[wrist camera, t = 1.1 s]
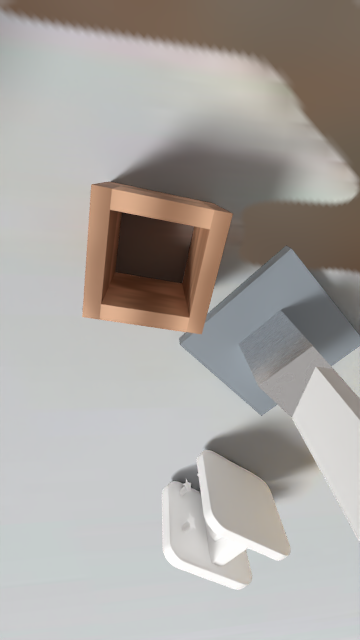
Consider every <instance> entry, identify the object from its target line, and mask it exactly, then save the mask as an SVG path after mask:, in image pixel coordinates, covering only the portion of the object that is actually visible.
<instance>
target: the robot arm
mask: <svg viewBox="0 0 360 640" xmlns="http://www.w3.org/2000/svg"><path fill="white" fill-rule="evenodd" d="M292 420H293V421H294V423H295V425H296V427H297V429H298V431H299V432H300V434H301V436H302V438H303V440H304V442H305V443H306V445H307V447H308V449H309V451H310V452H311V454H312V456H313V458H314V460H315V462H316V463H317V465H318V467H319V469H320V471H321V473H322V474H323V476H324V478H325V480H326V482H327V483H328V485H329V487H330V489H331V491H332V493H333V494H334V496H335V498H336V500H337V502H338V504H339V505H340V507H341V509H342V511H343V513H344V514H345V516H346V518H347V520H348V522H349V524H350V525H351V527H352V529H353V531H354V533H355V535H356V536H357V538H358V540H359V542H360V398H359V397H358V396H357V395H356V394H355V393H354V392H353V391H352V390H351V388H350V387H349V386H348V385H347V384H346V383H345V382H344V381H343V380H342V378H341V377H340V376H339V375H338V374H337V373H336V372H335V371H334V369H330V368H323V367H315V369H314V372H313V374H312V376H311V378H310V380H309V382H308V384H307V387H306V389H305V391H304V393H303V395H302V397H301V399H300V401H299V404H298V406H297V408H296V410H295V412H294V414H293V416H292Z"/></svg>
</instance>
